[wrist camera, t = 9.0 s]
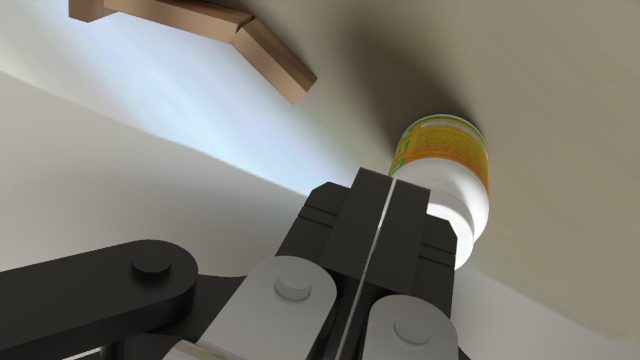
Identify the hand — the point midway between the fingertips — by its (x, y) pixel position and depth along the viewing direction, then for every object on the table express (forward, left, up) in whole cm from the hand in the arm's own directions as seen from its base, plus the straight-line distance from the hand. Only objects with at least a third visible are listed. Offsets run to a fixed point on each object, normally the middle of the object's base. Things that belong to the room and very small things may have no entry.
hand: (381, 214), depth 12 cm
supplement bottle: (-2, +8, -23) cm, 24 cm away
